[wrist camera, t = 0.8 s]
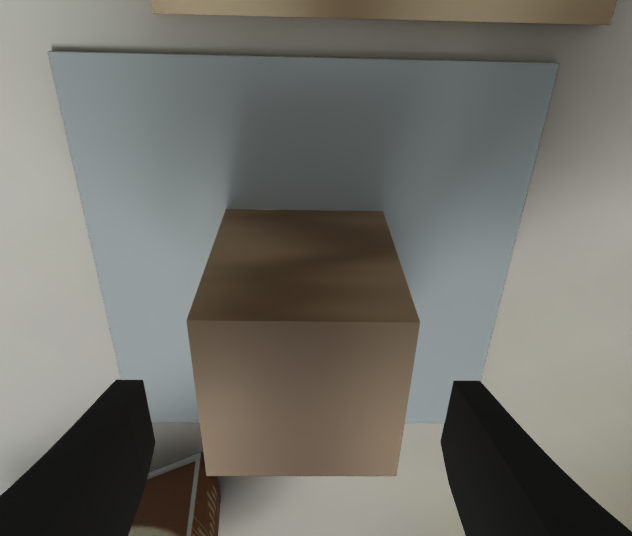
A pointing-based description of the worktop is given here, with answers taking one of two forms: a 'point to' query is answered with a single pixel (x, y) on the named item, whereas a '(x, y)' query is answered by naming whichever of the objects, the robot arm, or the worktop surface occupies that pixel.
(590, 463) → the worktop surface
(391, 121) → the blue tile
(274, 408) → the walnut block
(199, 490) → the food container
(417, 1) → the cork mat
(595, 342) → the worktop surface
